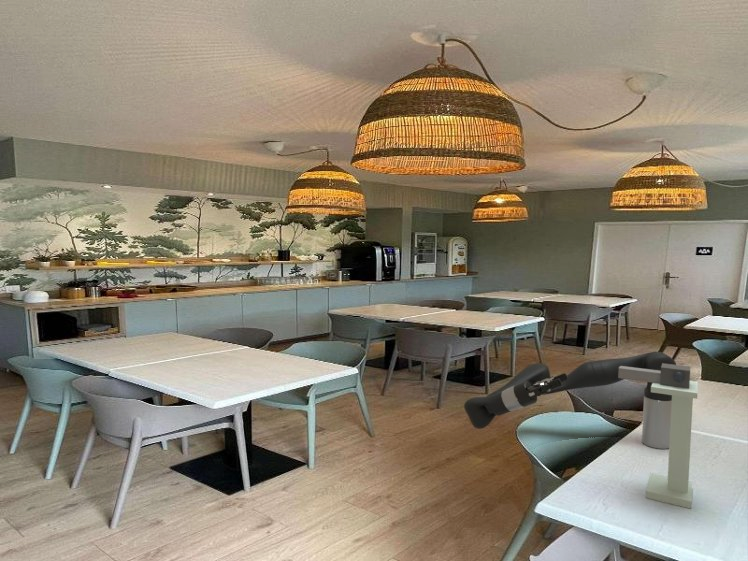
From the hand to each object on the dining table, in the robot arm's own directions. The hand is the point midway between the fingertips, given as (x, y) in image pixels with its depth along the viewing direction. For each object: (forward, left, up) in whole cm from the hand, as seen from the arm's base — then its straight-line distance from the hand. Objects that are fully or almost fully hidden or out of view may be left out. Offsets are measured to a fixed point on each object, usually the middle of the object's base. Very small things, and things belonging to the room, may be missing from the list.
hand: (563, 378), depth 163 cm
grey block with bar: (0, +25, +3) cm, 25 cm away
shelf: (0, +30, -29) cm, 42 cm away
